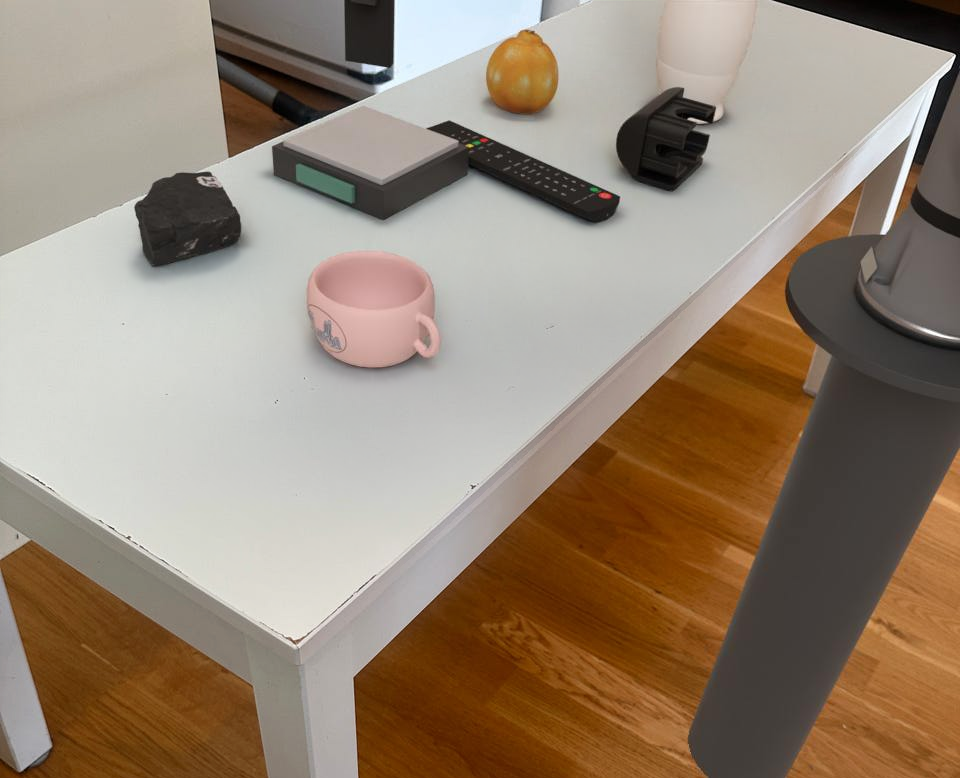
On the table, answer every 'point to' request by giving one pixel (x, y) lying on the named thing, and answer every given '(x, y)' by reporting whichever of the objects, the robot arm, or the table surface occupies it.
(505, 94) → the fruit
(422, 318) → the mug
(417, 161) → the scale
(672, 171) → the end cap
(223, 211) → the rock
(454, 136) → the remote control
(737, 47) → the jar
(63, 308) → the table surface
